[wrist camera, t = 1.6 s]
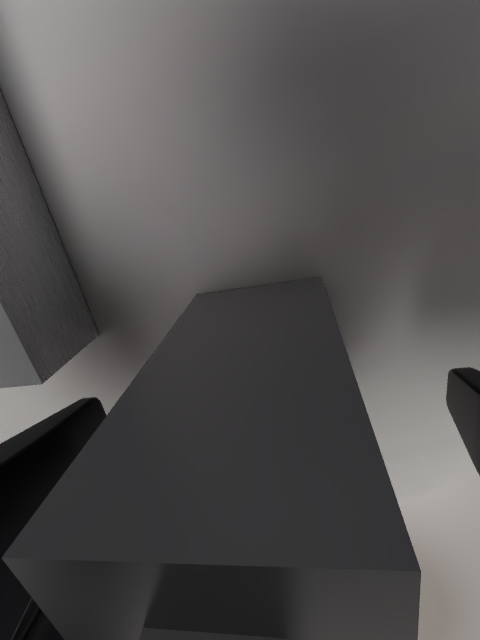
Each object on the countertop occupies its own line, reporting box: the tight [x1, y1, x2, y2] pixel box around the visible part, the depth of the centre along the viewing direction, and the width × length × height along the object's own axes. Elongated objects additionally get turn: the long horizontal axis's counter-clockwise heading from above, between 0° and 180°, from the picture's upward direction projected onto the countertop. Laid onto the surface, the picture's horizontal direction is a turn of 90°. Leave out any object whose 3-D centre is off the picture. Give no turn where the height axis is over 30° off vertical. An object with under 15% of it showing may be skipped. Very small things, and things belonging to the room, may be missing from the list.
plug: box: [2, 277, 421, 640], centre depth 7 cm, size 4×4×9 cm
